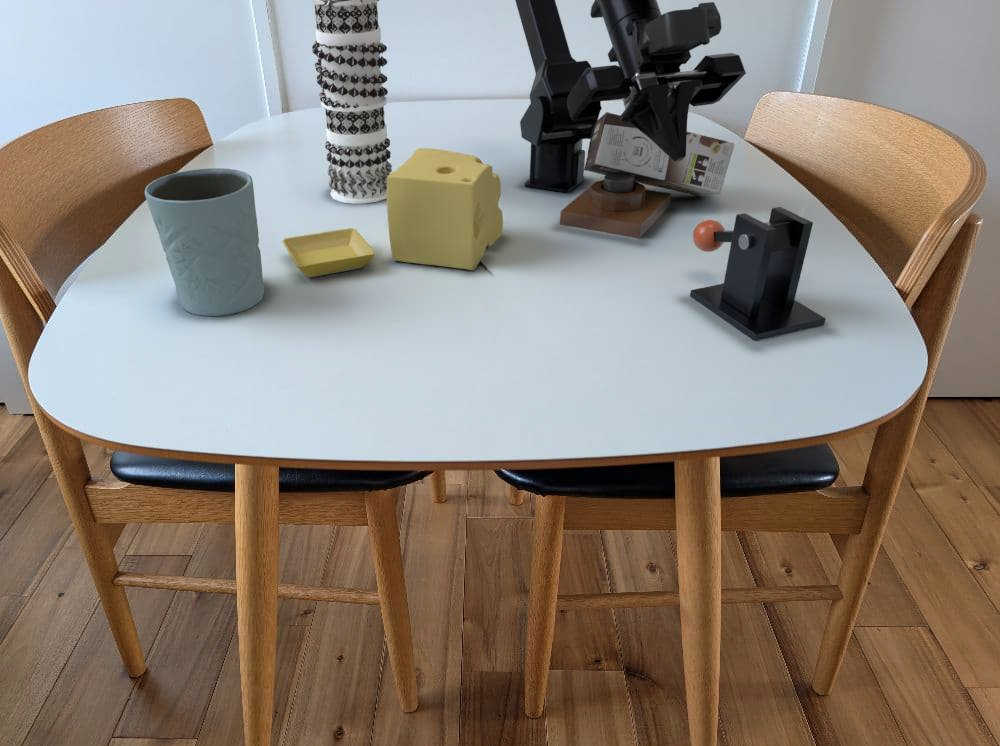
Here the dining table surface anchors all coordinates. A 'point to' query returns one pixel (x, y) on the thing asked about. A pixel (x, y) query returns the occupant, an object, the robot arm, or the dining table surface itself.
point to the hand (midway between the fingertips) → (680, 159)
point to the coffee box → (658, 158)
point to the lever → (714, 235)
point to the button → (618, 183)
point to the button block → (616, 210)
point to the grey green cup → (209, 238)
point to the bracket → (762, 279)
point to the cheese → (443, 209)
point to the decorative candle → (353, 98)
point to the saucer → (329, 252)
